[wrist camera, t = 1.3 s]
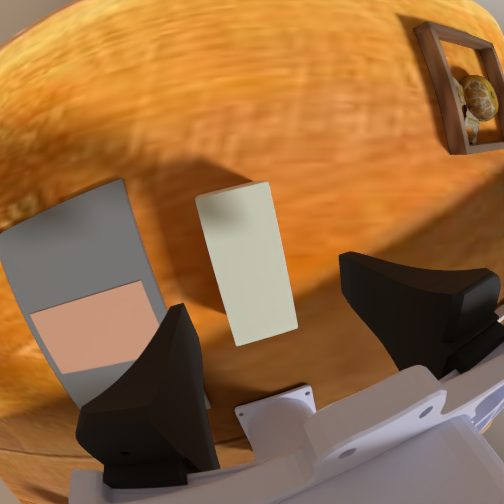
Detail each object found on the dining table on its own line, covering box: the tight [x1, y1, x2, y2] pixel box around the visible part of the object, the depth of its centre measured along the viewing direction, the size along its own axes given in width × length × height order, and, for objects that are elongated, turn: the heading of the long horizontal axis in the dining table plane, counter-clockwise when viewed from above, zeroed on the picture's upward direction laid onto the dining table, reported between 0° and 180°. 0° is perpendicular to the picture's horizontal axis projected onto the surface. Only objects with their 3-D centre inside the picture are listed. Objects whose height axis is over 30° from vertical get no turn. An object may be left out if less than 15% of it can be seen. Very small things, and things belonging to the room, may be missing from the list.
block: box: [195, 181, 298, 346], centre depth 20 cm, size 10×4×5 cm, turn 13°
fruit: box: [453, 75, 499, 144], centre depth 21 cm, size 8×8×4 cm
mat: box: [0, 179, 211, 411], centre depth 22 cm, size 22×14×1 cm, turn 15°
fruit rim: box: [413, 22, 504, 155], centre depth 21 cm, size 15×15×2 cm
